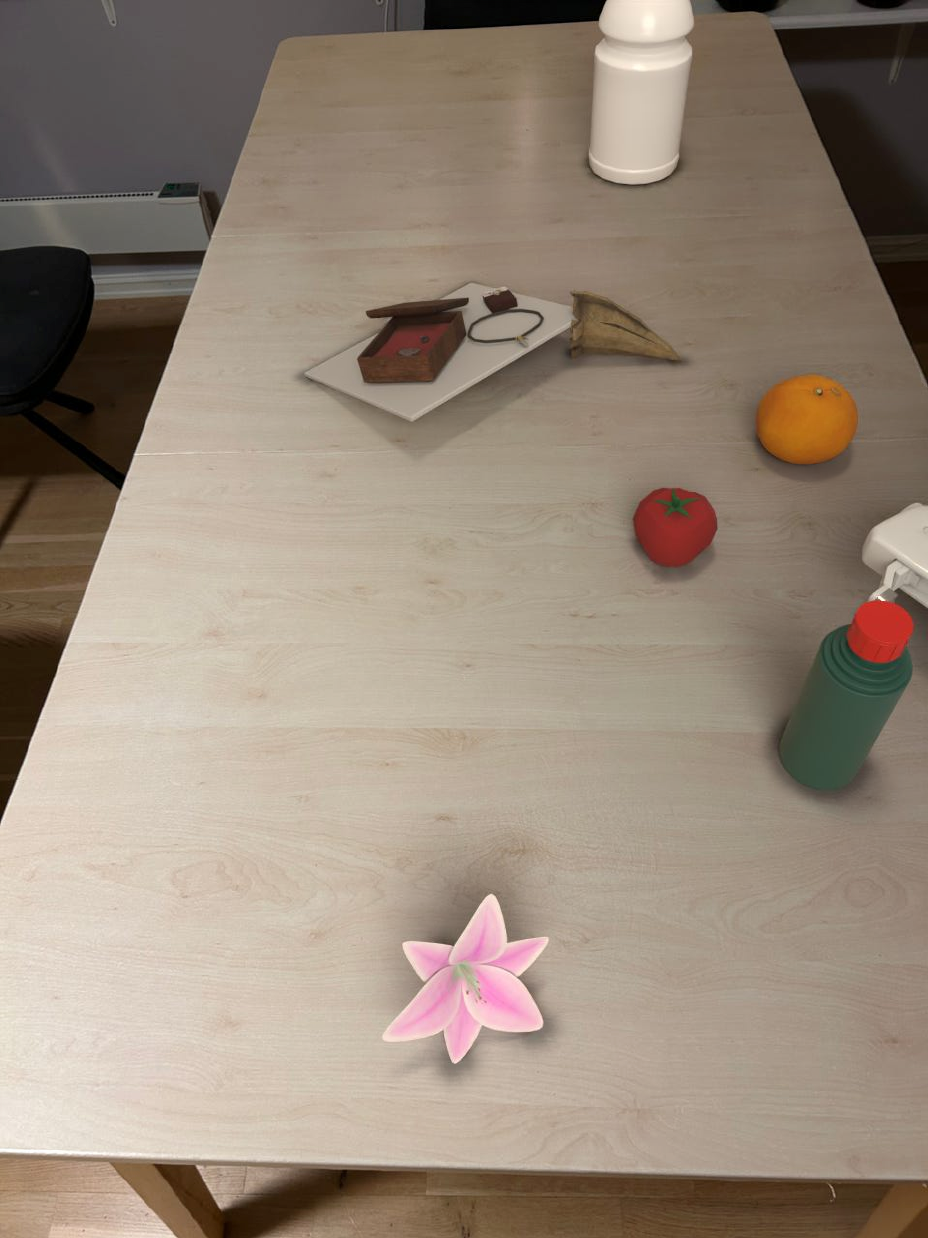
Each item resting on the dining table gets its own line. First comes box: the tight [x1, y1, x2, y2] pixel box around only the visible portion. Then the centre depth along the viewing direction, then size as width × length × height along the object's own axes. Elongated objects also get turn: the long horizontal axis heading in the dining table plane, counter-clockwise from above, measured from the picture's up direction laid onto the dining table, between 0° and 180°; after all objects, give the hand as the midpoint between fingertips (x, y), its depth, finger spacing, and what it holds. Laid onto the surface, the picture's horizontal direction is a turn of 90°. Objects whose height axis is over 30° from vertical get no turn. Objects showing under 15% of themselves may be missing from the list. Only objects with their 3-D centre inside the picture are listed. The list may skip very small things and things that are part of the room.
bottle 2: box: [778, 623, 914, 791], centre depth 73 cm, size 7×7×18 cm
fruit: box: [755, 373, 859, 465], centre depth 101 cm, size 10×10×8 cm
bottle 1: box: [588, 0, 695, 185], centre depth 135 cm, size 14×14×28 cm
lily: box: [381, 893, 550, 1065], centre depth 66 cm, size 12×12×10 cm
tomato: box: [632, 487, 718, 568], centre depth 93 cm, size 8×8×7 cm
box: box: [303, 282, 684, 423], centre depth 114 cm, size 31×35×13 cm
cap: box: [846, 600, 915, 663], centre depth 66 cm, size 4×4×2 cm
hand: (922, 641), depth 76 cm, fingers open, 8 cm apart
